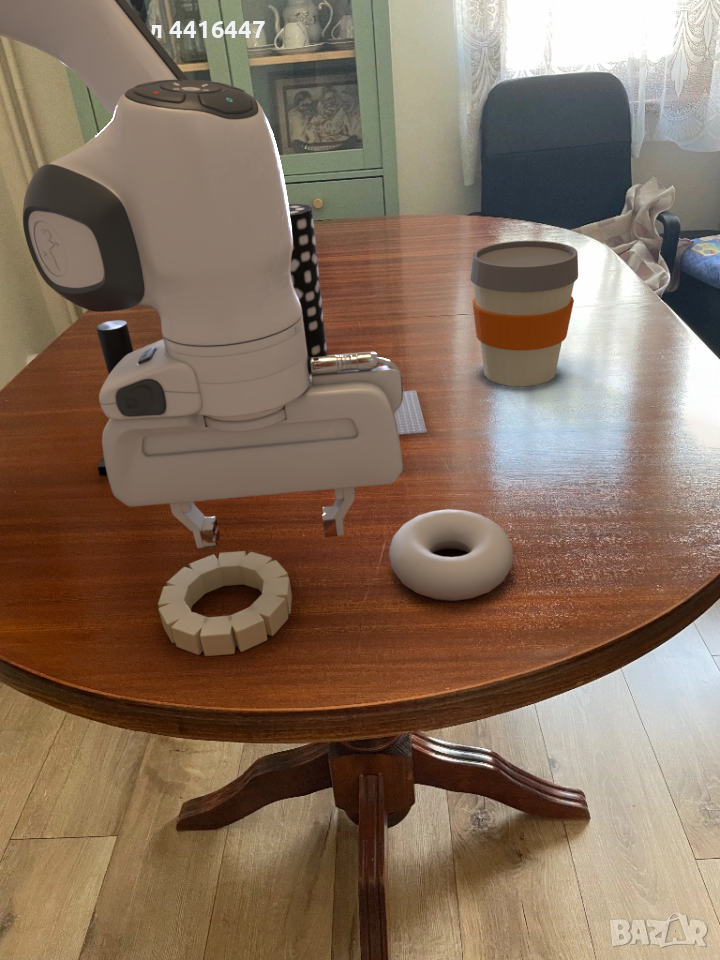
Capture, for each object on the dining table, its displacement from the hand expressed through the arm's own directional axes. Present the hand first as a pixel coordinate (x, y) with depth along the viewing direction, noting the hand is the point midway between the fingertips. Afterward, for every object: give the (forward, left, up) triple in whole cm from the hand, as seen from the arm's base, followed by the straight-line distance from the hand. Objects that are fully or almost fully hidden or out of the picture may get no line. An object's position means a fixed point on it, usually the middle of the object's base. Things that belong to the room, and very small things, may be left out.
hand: (271, 537), depth 54 cm
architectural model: (+7, +33, -7) cm, 34 cm away
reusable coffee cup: (+28, +42, -7) cm, 51 cm away
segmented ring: (-4, 0, -7) cm, 8 cm away
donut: (+14, +3, -7) cm, 15 cm away
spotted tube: (-1, +53, -7) cm, 53 cm away
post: (-17, +27, -7) cm, 33 cm away
